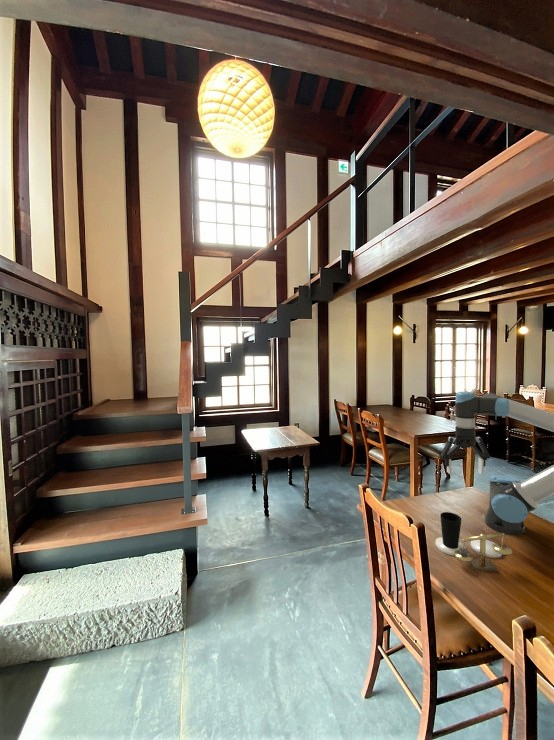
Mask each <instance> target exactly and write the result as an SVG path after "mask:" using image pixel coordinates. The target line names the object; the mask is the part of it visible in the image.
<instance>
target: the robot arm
mask: <svg viewBox="0 0 554 740" xmlns="http://www.w3.org/2000/svg"><path fill="white" fill-rule="evenodd" d="M454 404H455V408H454V409H455V425H456V426H455V432H454V433H455V437H451V436H448V437H447V441H446V443H445V445H444V448H443V449H442V450H441V453H440V457H441V458H442V459H444V464H445V466H446V473H448V475H452V459H451V458H452V457H453V456H454V455H455V454H456V452H457V451H458V450H459V449H461V448H472V450H473V451H474V452H475V453H476V454H477V455H478V460H477V462H478V464H477V465H478V467H477V470H478V473H479V474H480V475H484V467H486V461H487V460H488V459H490V458H491V455H490V453H489V451H488V449H487V447H486V445H485V444H484V439H483V438H482V437H480V436H479V435H478V436H476V428H475V427H476V415H481V416H482V415H485V416H496V417H509V418H511V419H515V420H517V421H520V422H523V423H526V424H530V425H532V426H534V427H538V428H541V429H544V430H547V431H550V432H553V433H554V413H553V412H550V411H546V410H543V409H540V408H538V407H534V406H532V405H529V404H526V403H522V402H518V401H515V400H512V399H509V398H506V397H503V396H500V395H497V394H496V393H491V392H487V393H486V394H483V396H482V397H478V396H477V395H476V393H475V392H472V391H458V392H457V393H456V394H455V403H454ZM475 436H476V437H475ZM475 443H477V444H478V446H479V448H480V449H479V448H478V447H477V446H476V445H475ZM480 450H481V451H480ZM553 495H554V464H553V465H551V466H548V467H547V468H545V469H544V470H541V471H540V472H538V473H536V474H534V475H532V476H529V478H527V479H525V480H523V481H521V480H519V479H518V478H516V477H513V476H509V475H503V474H493V475H492V474H491V475H490V477H489V498H488V500H489V501H488V502H489V503H488V504H489V505H488V508H487V510H486V513H485V515H484V523H485V524H486V526H488V527H489V528H491V529H492V530H495V531H497V532H498V533H504V534H507V535H512V536H513V535H515V536H517V535H522V534H524V533H525V532H526V531H525V529H526V526H525V522H524V521H526V519H527V517H528V514H529V513H531V512H532V511H535V510H537V509H538V503H540V502H542V501H544V500H546V499H548V498H550V497H552V496H553Z"/></svg>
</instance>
